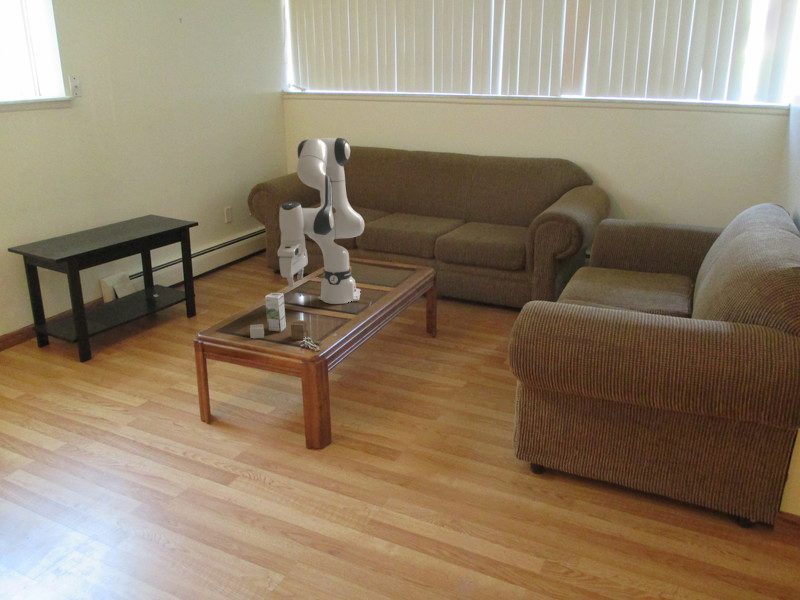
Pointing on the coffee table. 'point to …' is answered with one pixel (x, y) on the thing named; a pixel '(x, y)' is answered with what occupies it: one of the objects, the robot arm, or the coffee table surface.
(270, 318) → the syrup box
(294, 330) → the walnut block
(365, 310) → the coffee table surface
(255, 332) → the grey block
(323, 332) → the coffee table surface
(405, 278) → the coffee table surface
